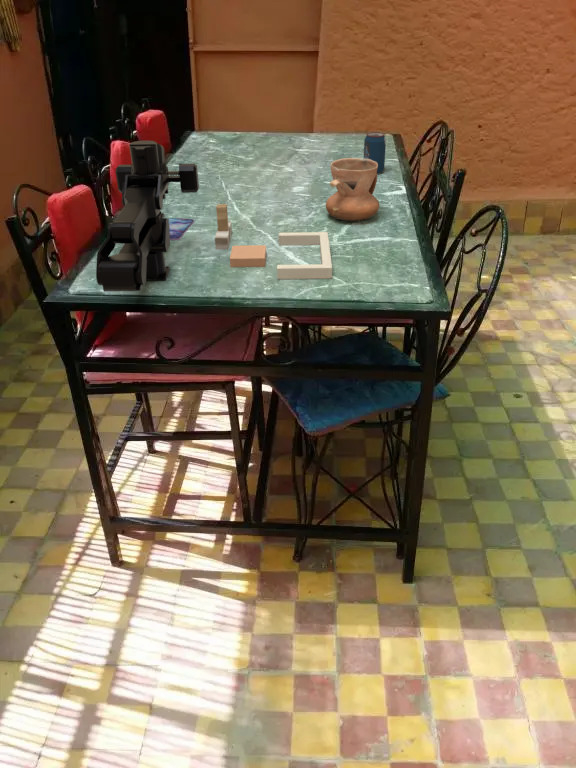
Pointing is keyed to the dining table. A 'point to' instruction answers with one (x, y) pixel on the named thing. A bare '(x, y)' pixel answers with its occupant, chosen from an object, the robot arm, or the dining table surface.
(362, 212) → the ceramic jug
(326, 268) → the beige u-shaped frame
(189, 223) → the smartphone
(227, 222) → the beige t-shaped block
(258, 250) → the tile
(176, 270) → the dining table surface
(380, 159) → the soda can
